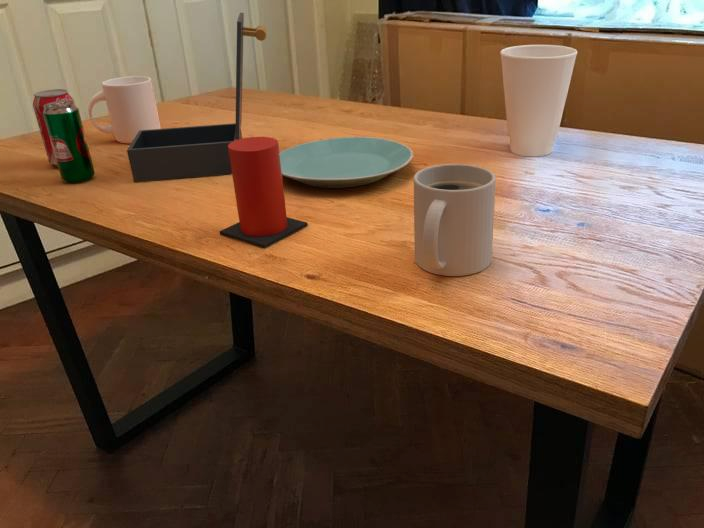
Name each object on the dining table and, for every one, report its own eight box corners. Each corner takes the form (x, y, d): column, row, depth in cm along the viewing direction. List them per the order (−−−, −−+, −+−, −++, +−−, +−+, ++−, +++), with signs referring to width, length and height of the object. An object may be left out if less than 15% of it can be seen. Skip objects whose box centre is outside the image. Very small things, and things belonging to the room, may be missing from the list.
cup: (532, 136, 118) (539, 42, 110) (583, 151, 109) (594, 50, 101) (481, 148, 113) (484, 50, 105) (529, 166, 104) (537, 60, 96)
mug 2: (463, 236, 81) (465, 158, 77) (511, 266, 74) (516, 181, 69) (385, 257, 77) (382, 176, 72) (428, 291, 70) (428, 202, 65)
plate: (244, 175, 105) (242, 158, 103) (347, 143, 118) (346, 128, 117) (337, 210, 91) (336, 190, 89) (442, 169, 104) (442, 151, 103)
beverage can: (49, 161, 115) (29, 91, 109) (87, 155, 117) (69, 86, 112) (51, 171, 110) (30, 98, 104) (91, 164, 112) (72, 93, 107)
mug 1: (96, 137, 128) (82, 80, 122) (160, 129, 131) (149, 74, 126) (96, 149, 121) (81, 89, 115) (163, 140, 124) (152, 82, 119)
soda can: (55, 181, 106) (33, 105, 100) (83, 171, 109) (64, 98, 103) (74, 186, 103) (53, 109, 97) (102, 176, 107) (83, 101, 101)
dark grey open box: (134, 182, 104) (126, 150, 101) (145, 160, 114) (139, 130, 111) (242, 173, 106) (237, 141, 103) (244, 152, 116) (240, 122, 113)
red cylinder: (250, 240, 81) (237, 154, 76) (234, 224, 86) (221, 142, 81) (295, 229, 84) (285, 144, 79) (276, 214, 89) (267, 133, 83)
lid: (236, 21, 95) (266, 24, 96) (239, 12, 105) (266, 15, 106) (235, 139, 103) (262, 141, 104) (238, 120, 113) (263, 122, 114)
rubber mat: (219, 234, 85) (219, 231, 84) (263, 214, 90) (263, 210, 90) (264, 248, 80) (264, 244, 80) (307, 225, 86) (307, 222, 86)
